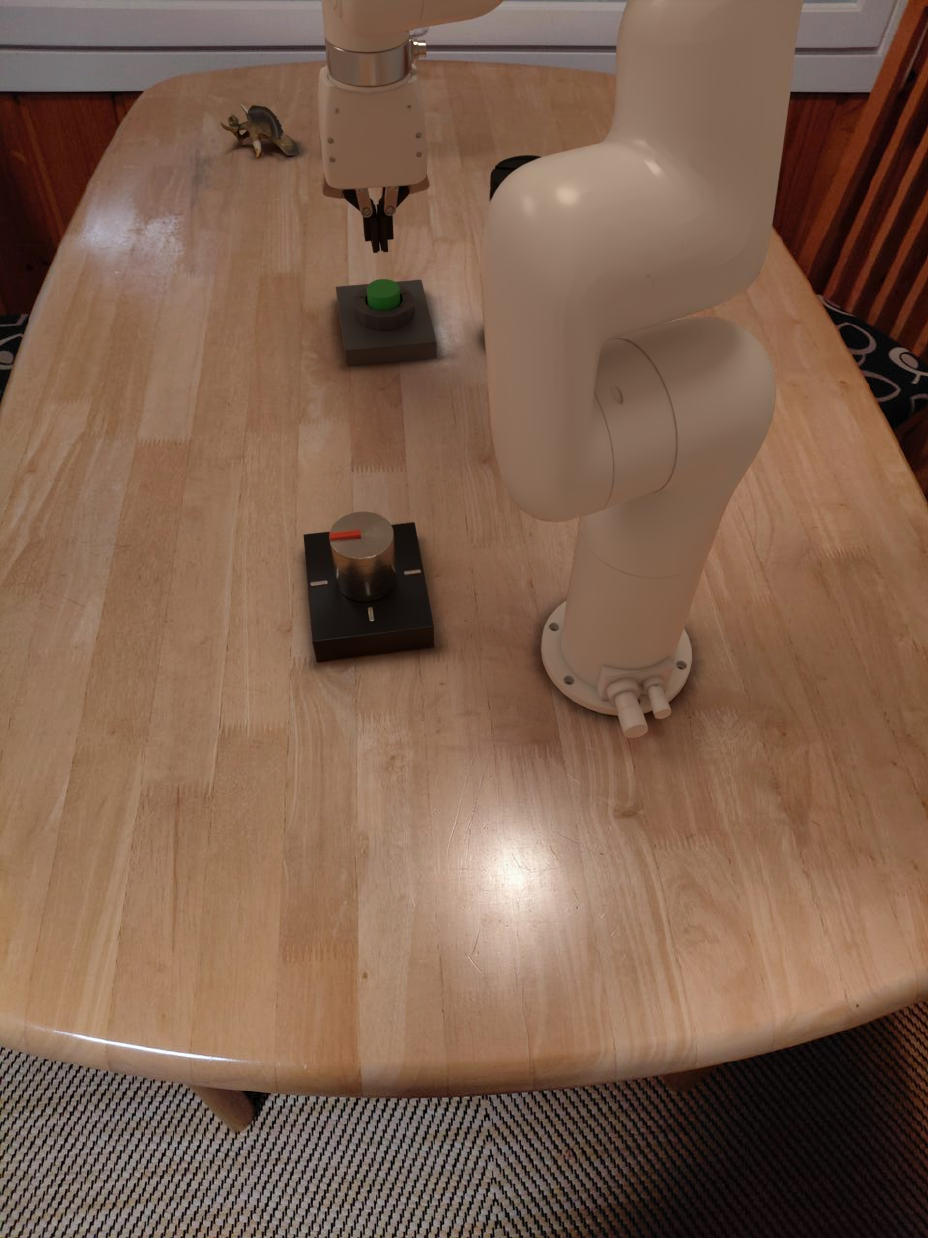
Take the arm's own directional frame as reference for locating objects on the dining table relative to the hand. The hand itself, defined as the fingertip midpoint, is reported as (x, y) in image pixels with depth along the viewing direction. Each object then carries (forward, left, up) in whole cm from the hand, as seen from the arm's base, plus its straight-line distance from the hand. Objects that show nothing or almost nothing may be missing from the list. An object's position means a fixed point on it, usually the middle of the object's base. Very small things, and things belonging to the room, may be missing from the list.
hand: (379, 245), depth 98 cm
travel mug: (-4, -14, -10) cm, 18 cm away
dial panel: (-39, +6, -10) cm, 41 cm away
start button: (0, 0, -7) cm, 7 cm away
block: (0, 0, -10) cm, 10 cm away
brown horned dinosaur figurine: (+44, +12, -10) cm, 46 cm away
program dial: (-39, +6, -7) cm, 40 cm away
